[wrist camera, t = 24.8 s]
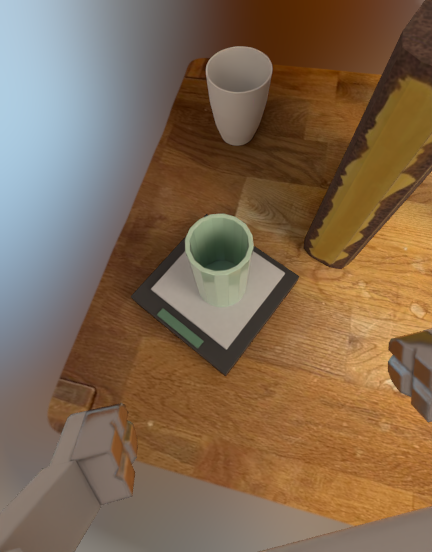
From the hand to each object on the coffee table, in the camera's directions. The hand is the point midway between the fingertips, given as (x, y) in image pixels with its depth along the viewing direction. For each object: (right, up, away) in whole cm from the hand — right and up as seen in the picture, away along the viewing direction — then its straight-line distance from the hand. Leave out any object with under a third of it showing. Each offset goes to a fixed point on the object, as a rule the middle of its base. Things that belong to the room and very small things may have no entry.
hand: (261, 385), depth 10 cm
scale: (-1, +1, +29) cm, 30 cm away
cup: (+2, +25, +39) cm, 46 cm away
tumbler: (-1, +3, +27) cm, 27 cm away
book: (+18, +14, +34) cm, 40 cm away
